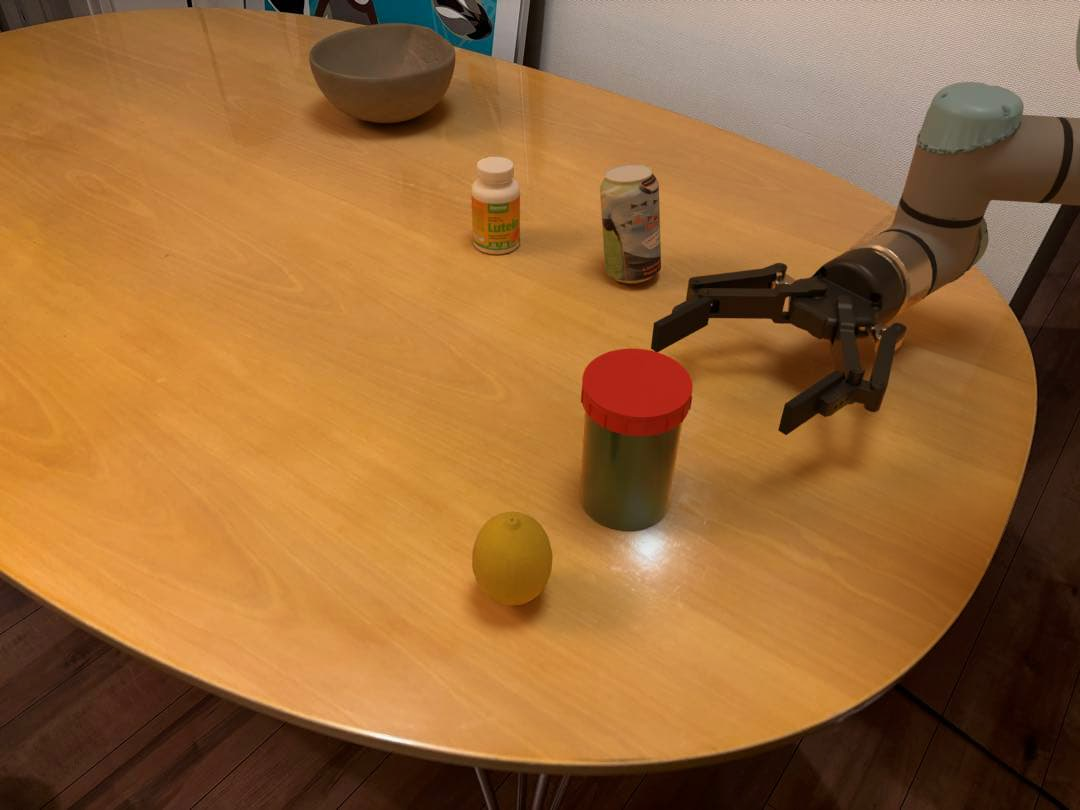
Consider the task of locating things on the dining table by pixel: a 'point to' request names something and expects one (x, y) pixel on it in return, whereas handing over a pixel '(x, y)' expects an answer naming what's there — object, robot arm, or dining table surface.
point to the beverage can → (631, 223)
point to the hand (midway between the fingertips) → (716, 376)
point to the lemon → (512, 558)
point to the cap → (636, 392)
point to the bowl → (383, 71)
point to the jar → (627, 476)
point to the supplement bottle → (495, 206)
